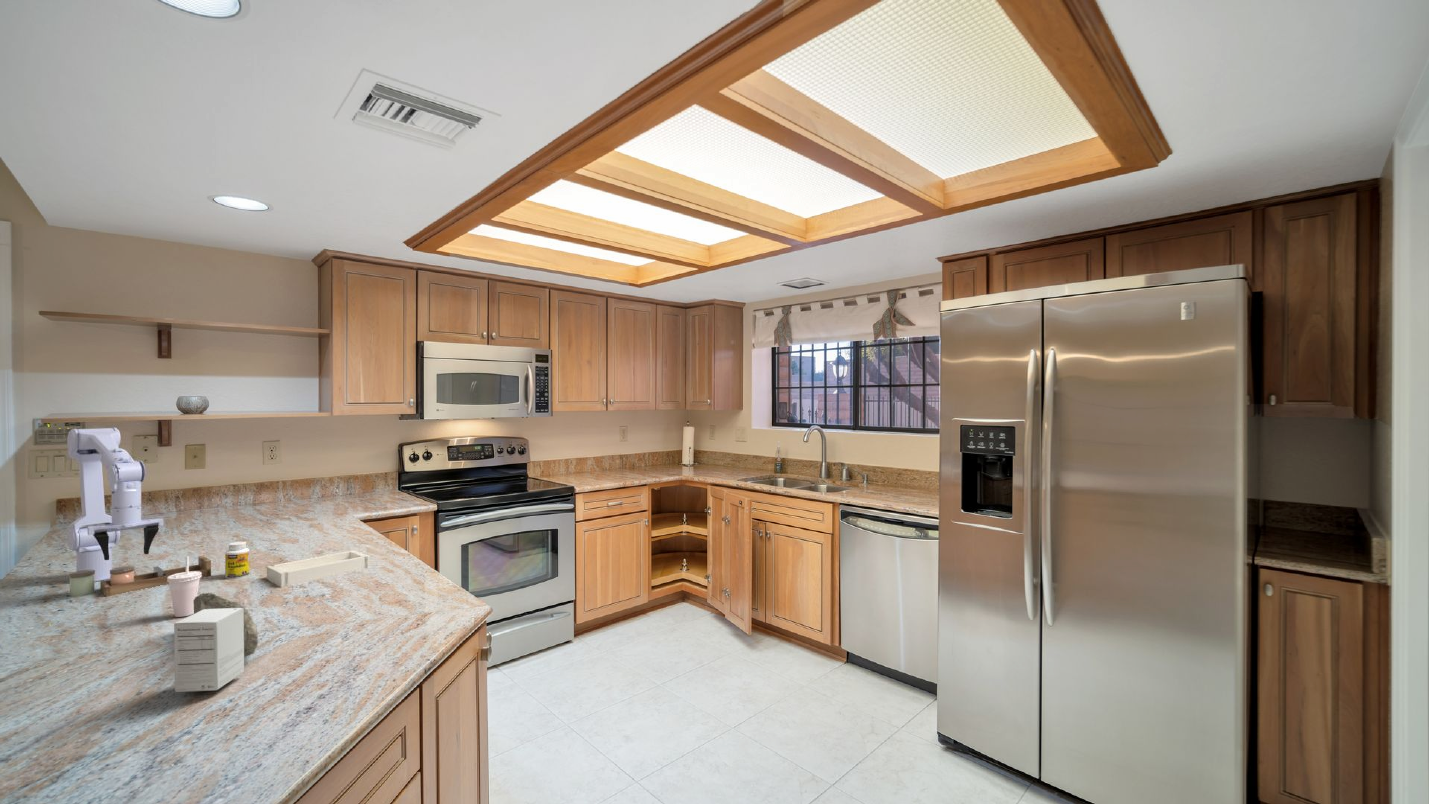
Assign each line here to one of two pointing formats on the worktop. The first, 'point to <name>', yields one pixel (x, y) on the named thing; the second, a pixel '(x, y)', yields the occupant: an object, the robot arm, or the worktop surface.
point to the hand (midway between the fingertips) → (126, 556)
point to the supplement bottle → (237, 561)
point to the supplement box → (208, 649)
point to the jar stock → (121, 575)
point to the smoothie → (184, 590)
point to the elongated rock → (218, 603)
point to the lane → (154, 579)
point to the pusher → (158, 572)
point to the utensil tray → (317, 568)
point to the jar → (82, 583)
